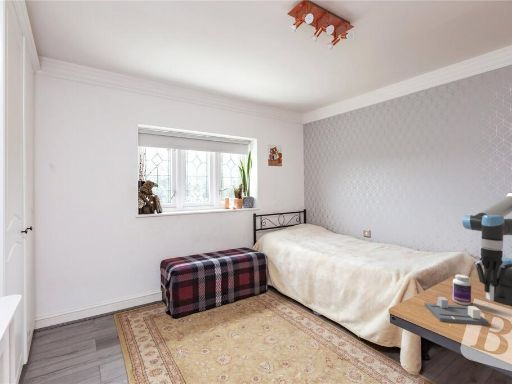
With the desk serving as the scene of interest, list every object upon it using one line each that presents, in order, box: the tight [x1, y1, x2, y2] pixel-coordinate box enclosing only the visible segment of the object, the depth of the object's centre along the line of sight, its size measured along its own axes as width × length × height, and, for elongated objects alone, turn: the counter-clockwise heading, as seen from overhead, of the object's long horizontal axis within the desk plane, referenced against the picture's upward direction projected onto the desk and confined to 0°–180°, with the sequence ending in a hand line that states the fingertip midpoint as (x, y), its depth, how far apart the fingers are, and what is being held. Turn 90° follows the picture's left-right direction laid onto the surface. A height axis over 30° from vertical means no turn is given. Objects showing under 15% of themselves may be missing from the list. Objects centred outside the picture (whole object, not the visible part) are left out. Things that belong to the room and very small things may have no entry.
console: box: [423, 302, 490, 326], centre depth 130 cm, size 20×16×2 cm
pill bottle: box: [451, 273, 472, 306], centre depth 144 cm, size 8×8×14 cm
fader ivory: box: [467, 305, 482, 319], centre depth 124 cm, size 3×4×4 cm
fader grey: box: [437, 296, 449, 308], centre depth 135 cm, size 3×4×4 cm
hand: (489, 299), depth 123 cm, fingers closed
